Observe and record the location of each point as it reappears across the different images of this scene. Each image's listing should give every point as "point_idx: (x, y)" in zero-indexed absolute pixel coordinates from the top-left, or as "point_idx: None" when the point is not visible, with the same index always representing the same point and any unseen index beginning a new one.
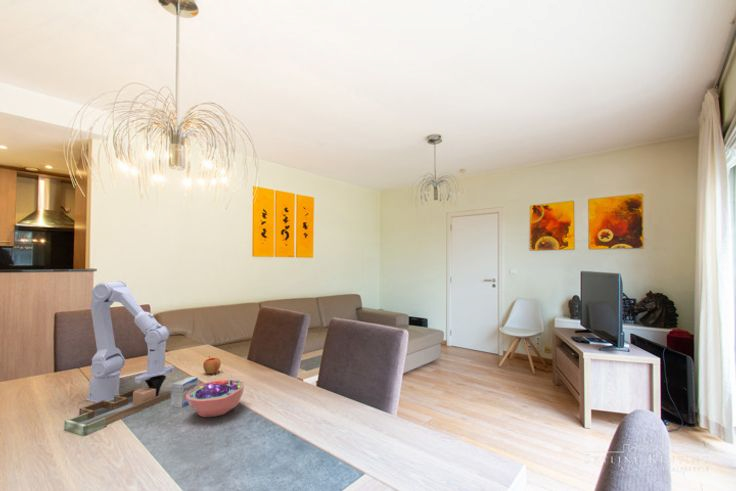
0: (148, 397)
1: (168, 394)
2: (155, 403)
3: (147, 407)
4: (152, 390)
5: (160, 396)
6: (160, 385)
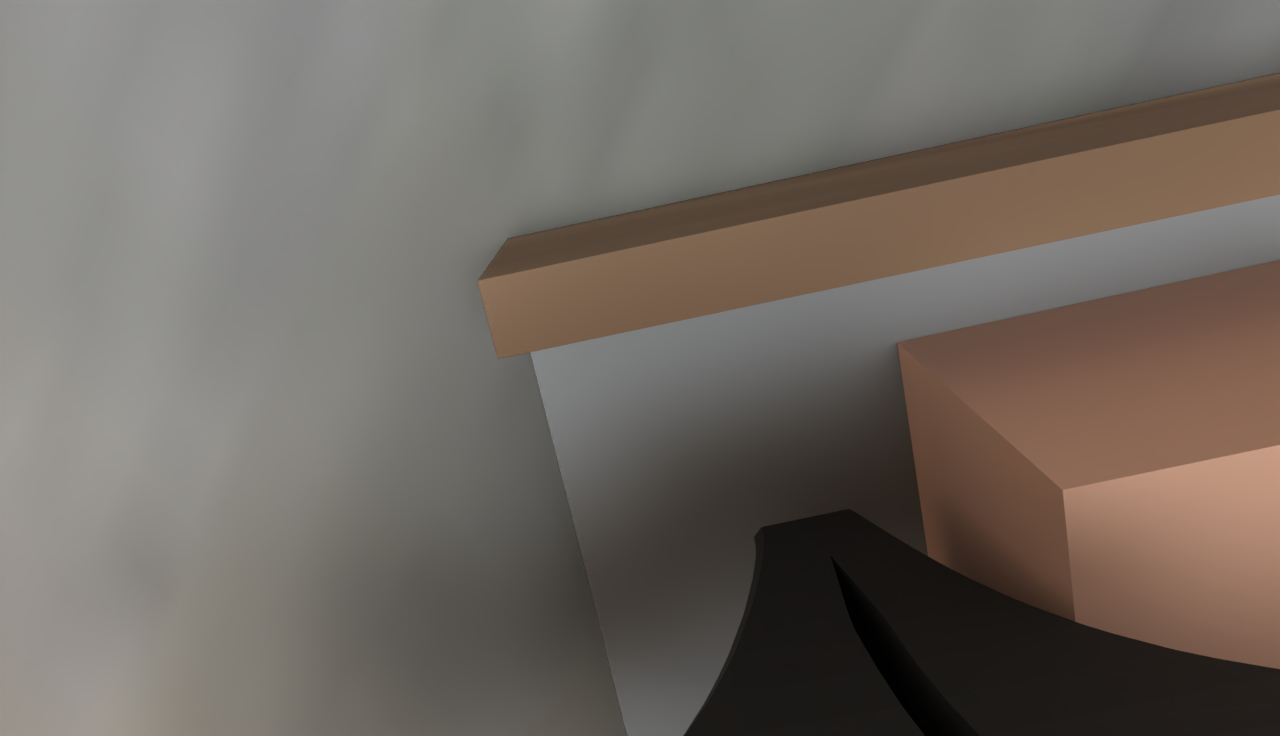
0: (1264, 339)
1: (577, 245)
2: (1024, 134)
3: (1273, 82)
4: (1240, 450)
5: (905, 190)
6: (781, 667)
